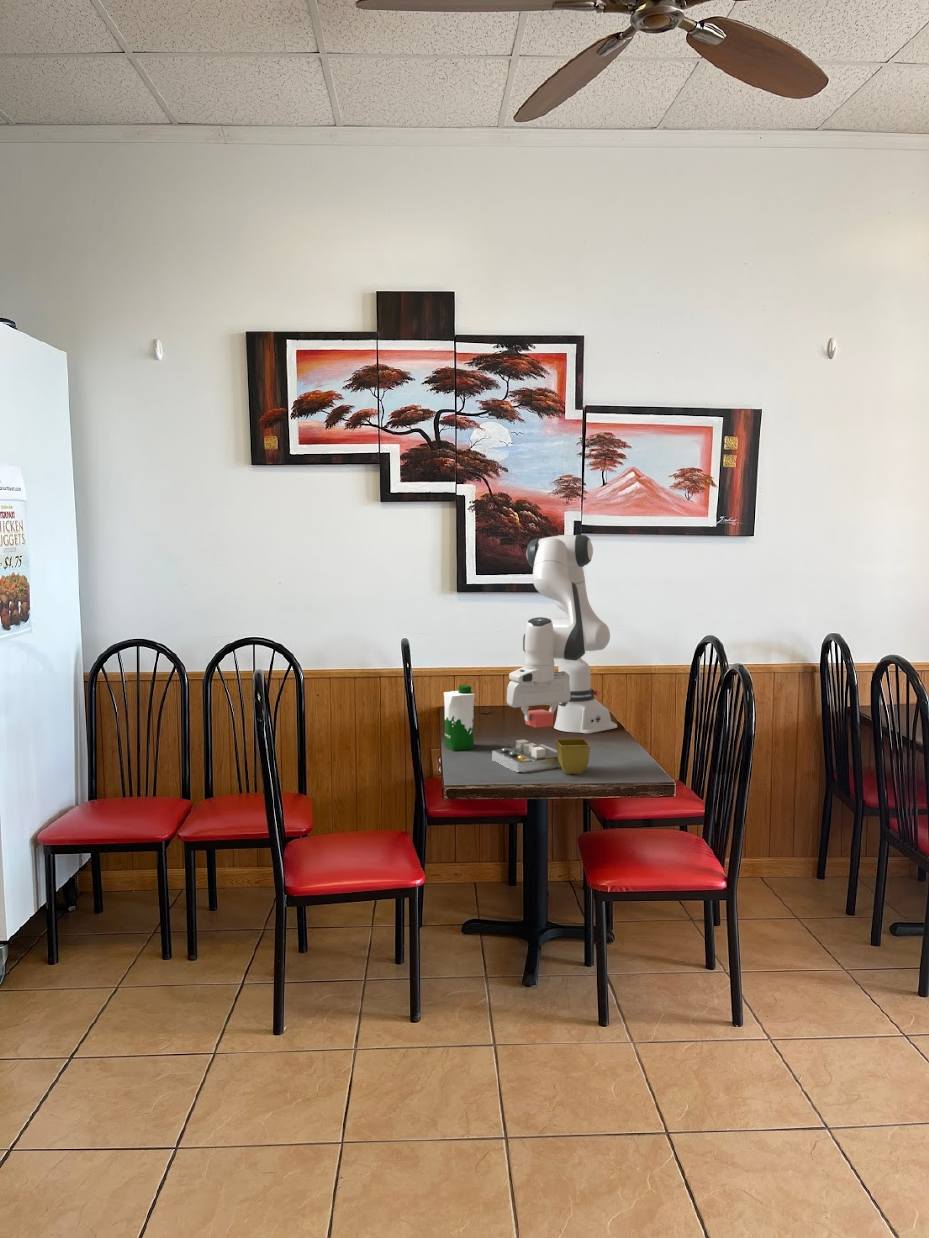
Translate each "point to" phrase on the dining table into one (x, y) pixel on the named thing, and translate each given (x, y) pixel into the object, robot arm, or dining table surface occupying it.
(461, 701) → the milk carton
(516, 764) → the breaker panel
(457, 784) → the dining table surface
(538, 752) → the breaker toggle
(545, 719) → the cap
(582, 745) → the flower pot
